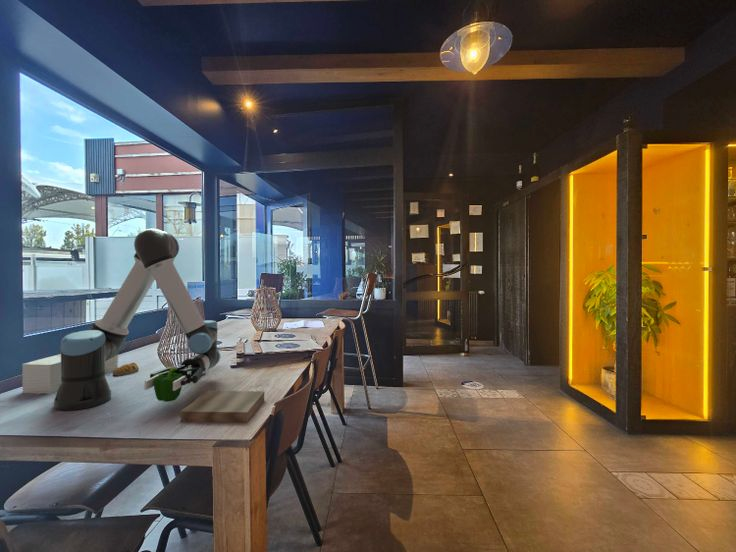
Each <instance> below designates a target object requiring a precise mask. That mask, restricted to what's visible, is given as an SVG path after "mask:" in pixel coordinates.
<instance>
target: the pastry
mask: <svg viewBox="0 0 736 552" xmlns="http://www.w3.org/2000/svg"><path fill="white" fill-rule="evenodd" d="M139 371H140V369H139V366H138V364H137V363H136V362H130V363H126V364H123V365H120V366H118V368H117V369H116V370H114V371H112V375H113V376H119V375H120V376H124V375H129V374H133V373H137V372H139Z"/></svg>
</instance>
